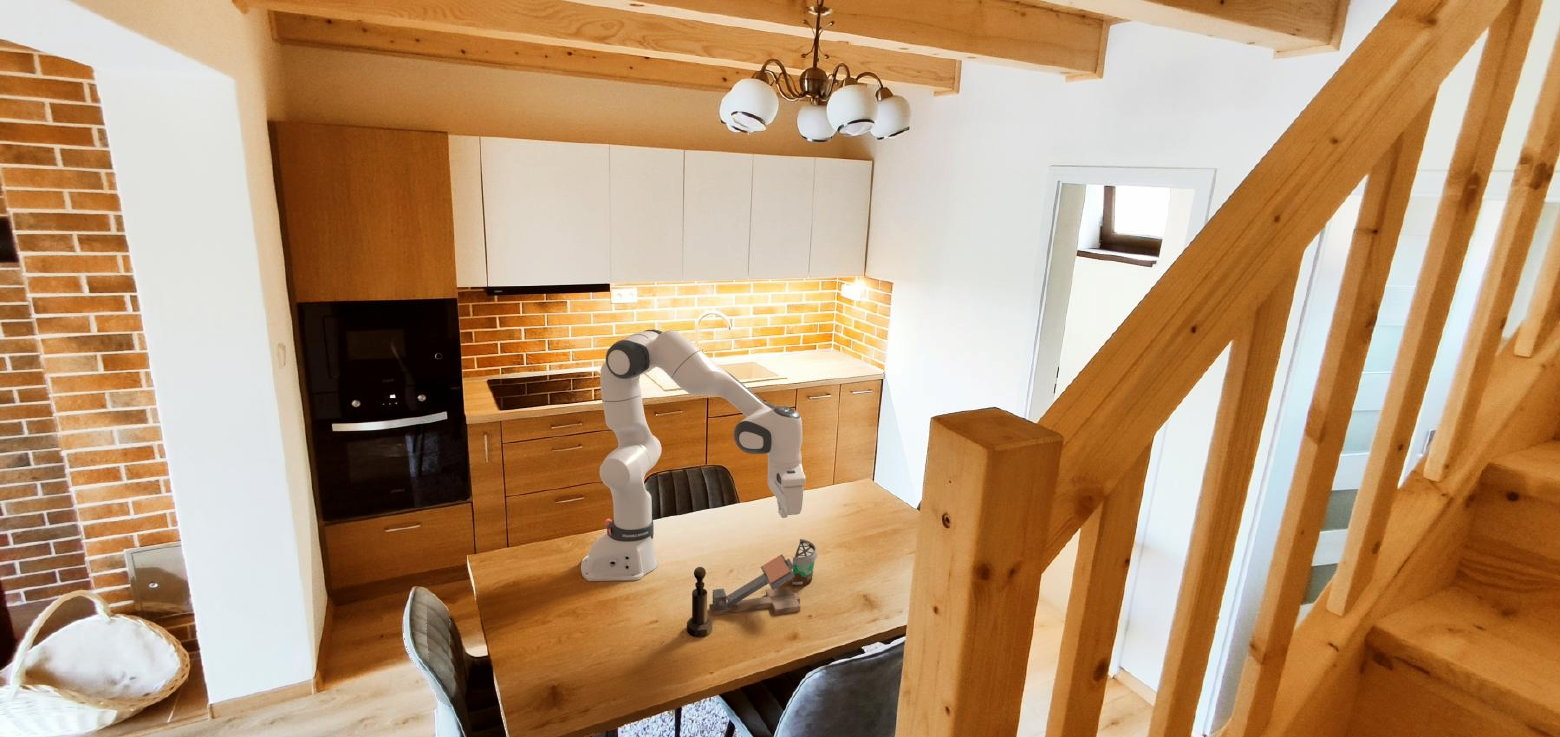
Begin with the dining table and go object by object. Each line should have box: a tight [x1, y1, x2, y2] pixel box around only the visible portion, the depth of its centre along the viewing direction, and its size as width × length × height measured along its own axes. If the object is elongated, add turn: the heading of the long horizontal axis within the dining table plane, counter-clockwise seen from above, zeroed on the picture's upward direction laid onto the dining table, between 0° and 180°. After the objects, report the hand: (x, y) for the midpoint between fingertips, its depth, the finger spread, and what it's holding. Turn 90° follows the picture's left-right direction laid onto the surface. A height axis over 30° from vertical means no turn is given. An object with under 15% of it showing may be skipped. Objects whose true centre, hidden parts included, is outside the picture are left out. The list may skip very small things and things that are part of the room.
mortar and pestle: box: [686, 566, 713, 638], centre depth 189 cm, size 7×6×18 cm
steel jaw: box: [726, 553, 795, 606], centre depth 201 cm, size 20×10×2 cm, turn 105°
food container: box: [791, 538, 818, 588], centre depth 216 cm, size 12×6×10 cm, turn 168°
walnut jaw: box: [708, 586, 801, 616], centre depth 202 cm, size 25×10×6 cm, turn 106°
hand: (782, 515), depth 198 cm, fingers closed
